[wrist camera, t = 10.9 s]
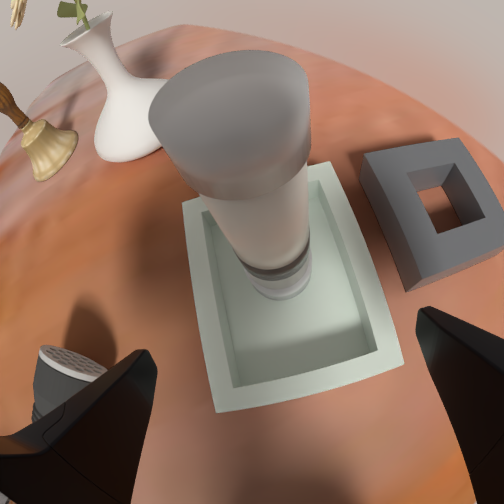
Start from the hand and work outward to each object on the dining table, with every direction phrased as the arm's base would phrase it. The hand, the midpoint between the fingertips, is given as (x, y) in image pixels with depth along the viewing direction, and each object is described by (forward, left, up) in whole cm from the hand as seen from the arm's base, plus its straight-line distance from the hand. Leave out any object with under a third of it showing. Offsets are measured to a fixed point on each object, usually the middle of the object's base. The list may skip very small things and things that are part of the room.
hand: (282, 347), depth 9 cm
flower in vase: (+23, +8, -9) cm, 26 cm away
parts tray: (+4, -1, -9) cm, 10 cm away
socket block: (+6, -13, -9) cm, 16 cm away
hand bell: (+28, +23, -9) cm, 38 cm away
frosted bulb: (+5, 0, -8) cm, 9 cm away
